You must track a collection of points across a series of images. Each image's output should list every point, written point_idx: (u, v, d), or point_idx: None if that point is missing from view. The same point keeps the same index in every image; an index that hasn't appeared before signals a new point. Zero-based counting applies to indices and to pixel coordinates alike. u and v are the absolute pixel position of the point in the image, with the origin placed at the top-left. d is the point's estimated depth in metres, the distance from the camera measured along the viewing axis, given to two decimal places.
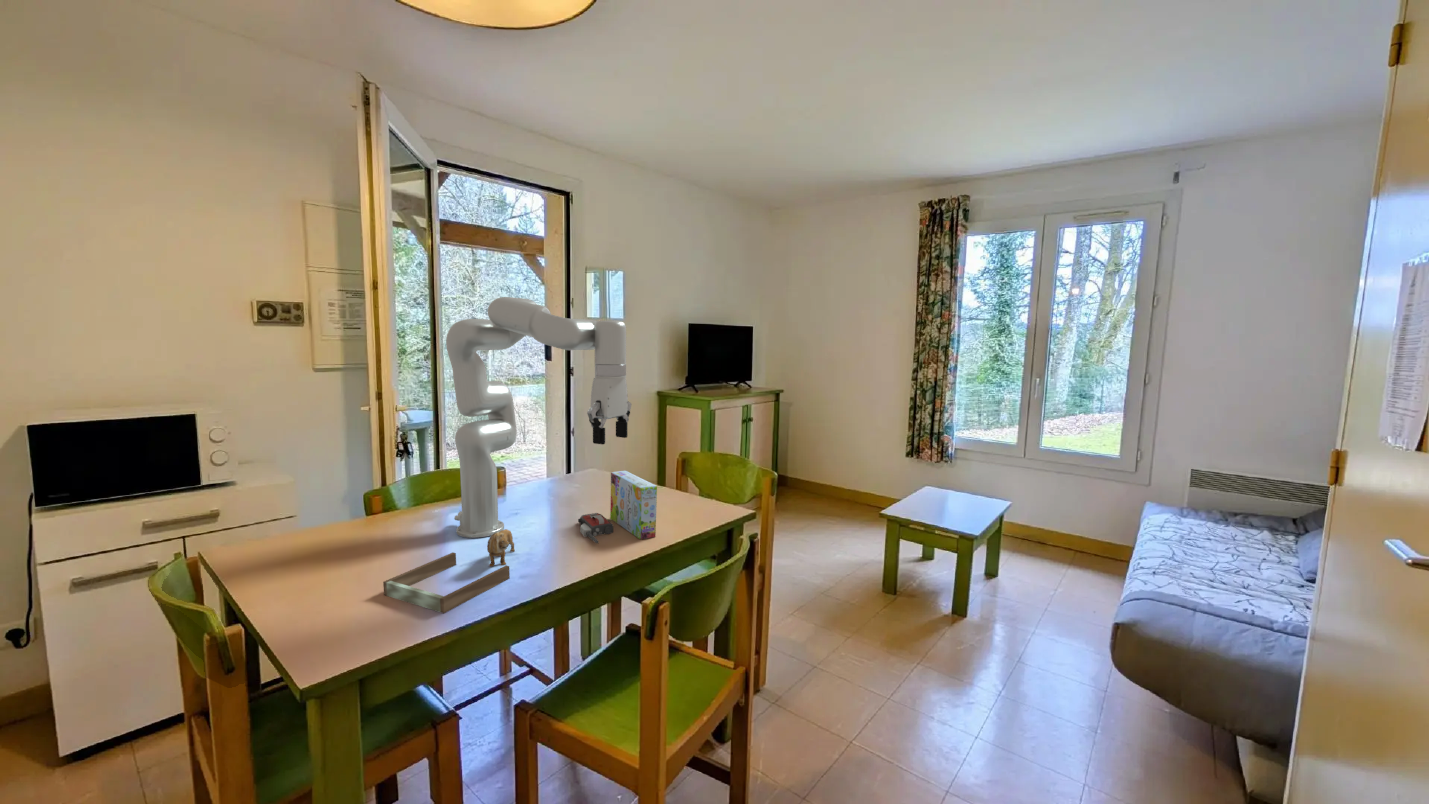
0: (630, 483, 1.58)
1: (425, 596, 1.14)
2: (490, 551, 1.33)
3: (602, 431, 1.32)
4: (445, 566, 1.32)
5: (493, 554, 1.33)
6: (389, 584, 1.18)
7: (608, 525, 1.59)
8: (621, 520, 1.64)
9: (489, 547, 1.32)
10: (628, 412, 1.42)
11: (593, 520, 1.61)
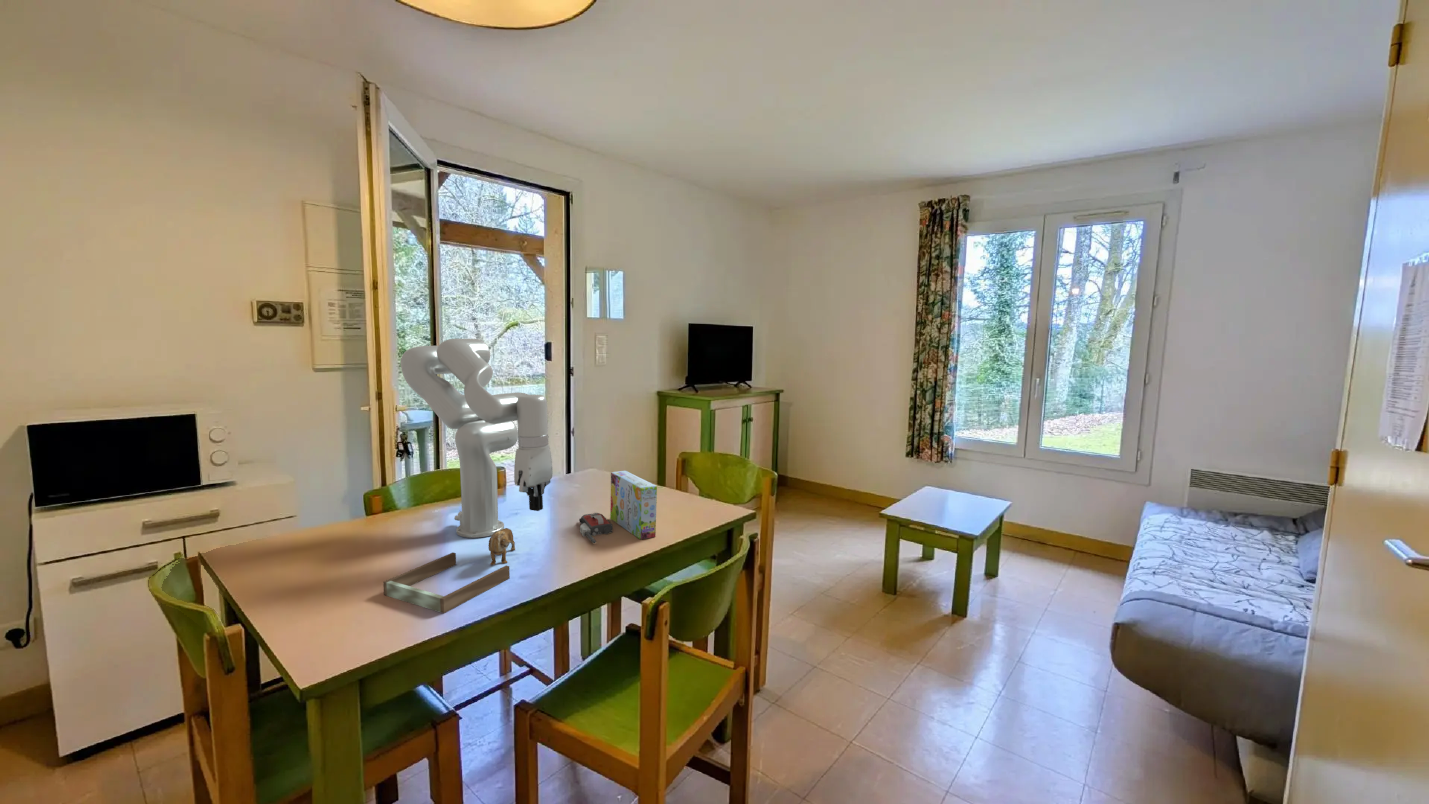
0: (630, 483, 1.58)
1: (425, 596, 1.14)
2: (491, 549, 1.34)
3: (537, 499, 1.46)
4: (445, 566, 1.32)
5: (494, 552, 1.34)
6: (389, 584, 1.18)
7: (607, 525, 1.59)
8: (621, 520, 1.64)
9: (490, 546, 1.33)
10: None
11: (593, 520, 1.61)
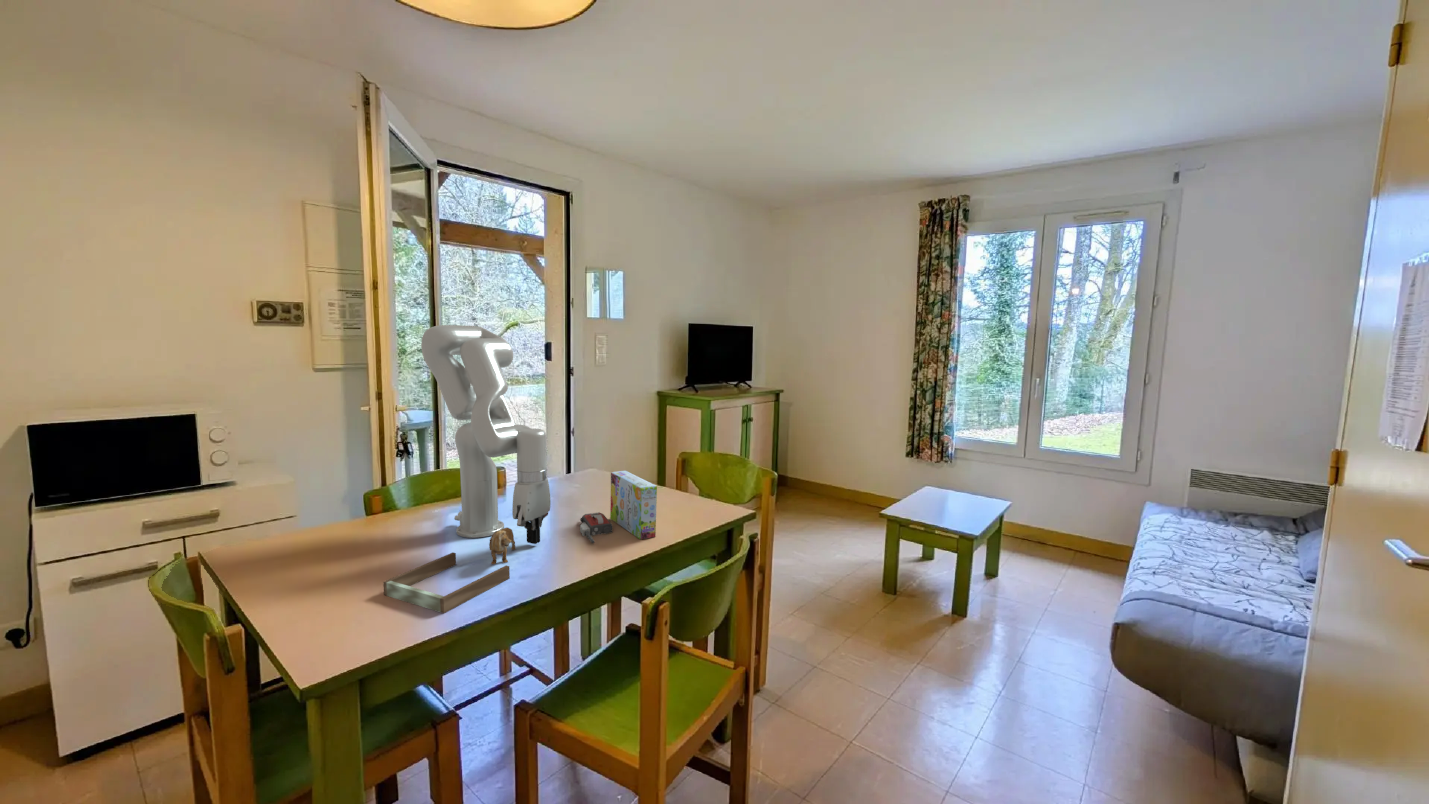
0: (630, 483, 1.58)
1: (425, 596, 1.14)
2: (492, 549, 1.34)
3: (534, 532, 1.47)
4: (445, 566, 1.32)
5: (495, 552, 1.34)
6: (389, 584, 1.18)
7: (607, 525, 1.59)
8: (621, 520, 1.64)
9: (491, 545, 1.34)
10: None
11: (594, 520, 1.62)
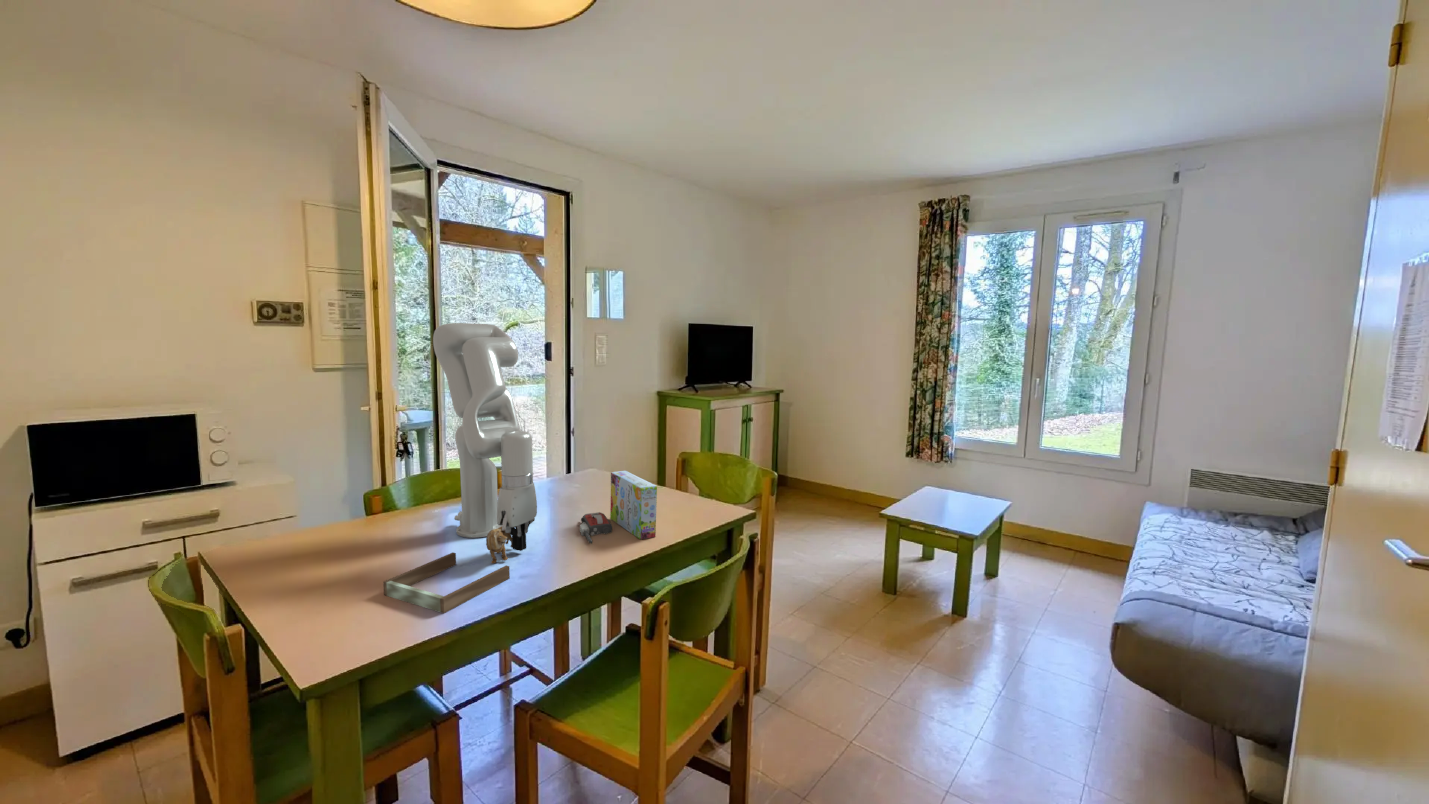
0: (630, 483, 1.58)
1: (425, 596, 1.14)
2: (490, 548, 1.34)
3: (520, 539, 1.42)
4: (445, 566, 1.32)
5: (493, 551, 1.35)
6: (389, 584, 1.18)
7: (606, 525, 1.59)
8: (621, 520, 1.64)
9: (488, 544, 1.34)
10: (527, 523, 1.45)
11: (593, 520, 1.62)
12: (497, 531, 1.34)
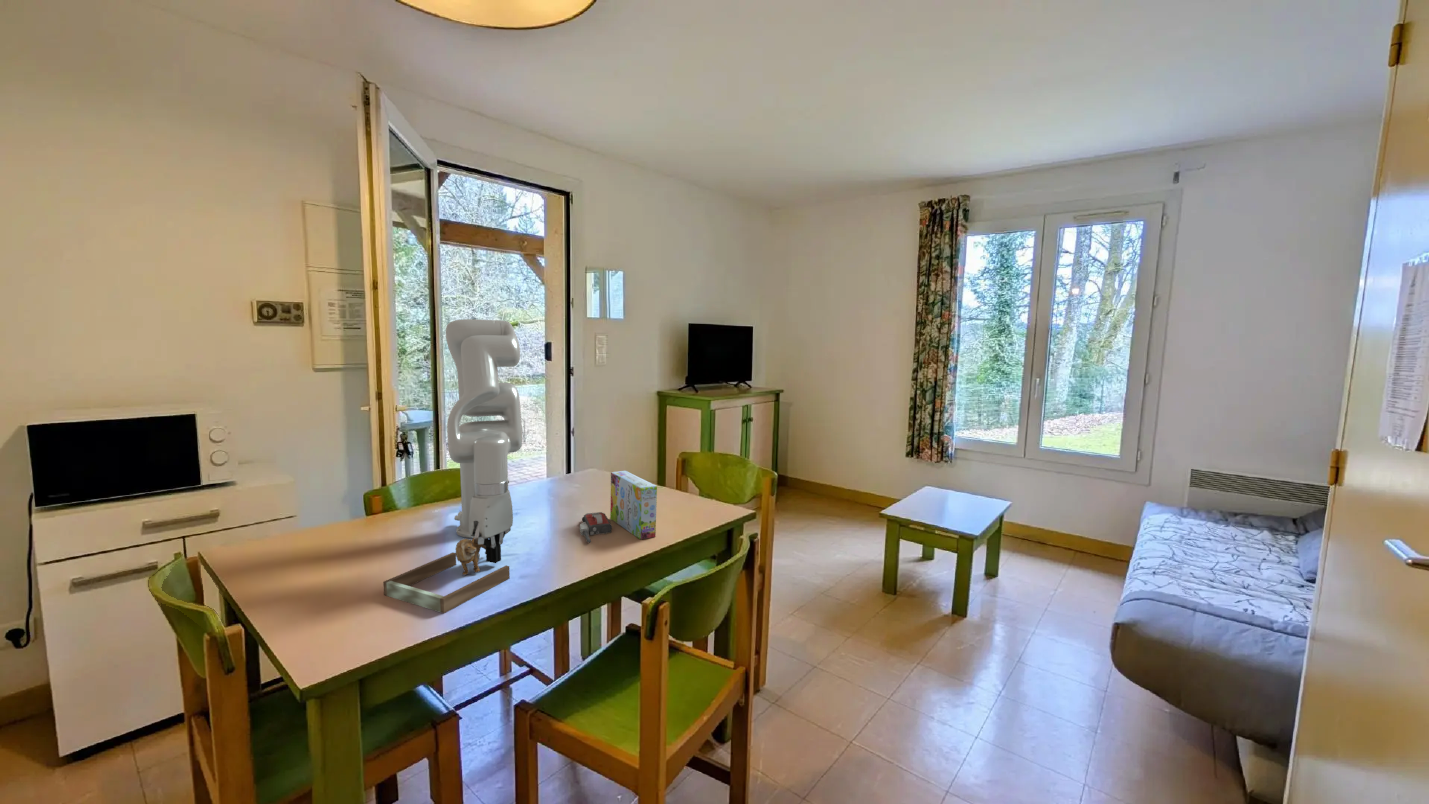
0: (630, 483, 1.58)
1: (425, 596, 1.14)
2: (458, 559, 1.27)
3: (494, 550, 1.34)
4: (445, 566, 1.32)
5: (462, 562, 1.28)
6: (389, 584, 1.18)
7: (606, 525, 1.59)
8: (621, 520, 1.64)
9: (456, 555, 1.27)
10: None
11: (593, 519, 1.62)
12: (465, 541, 1.27)
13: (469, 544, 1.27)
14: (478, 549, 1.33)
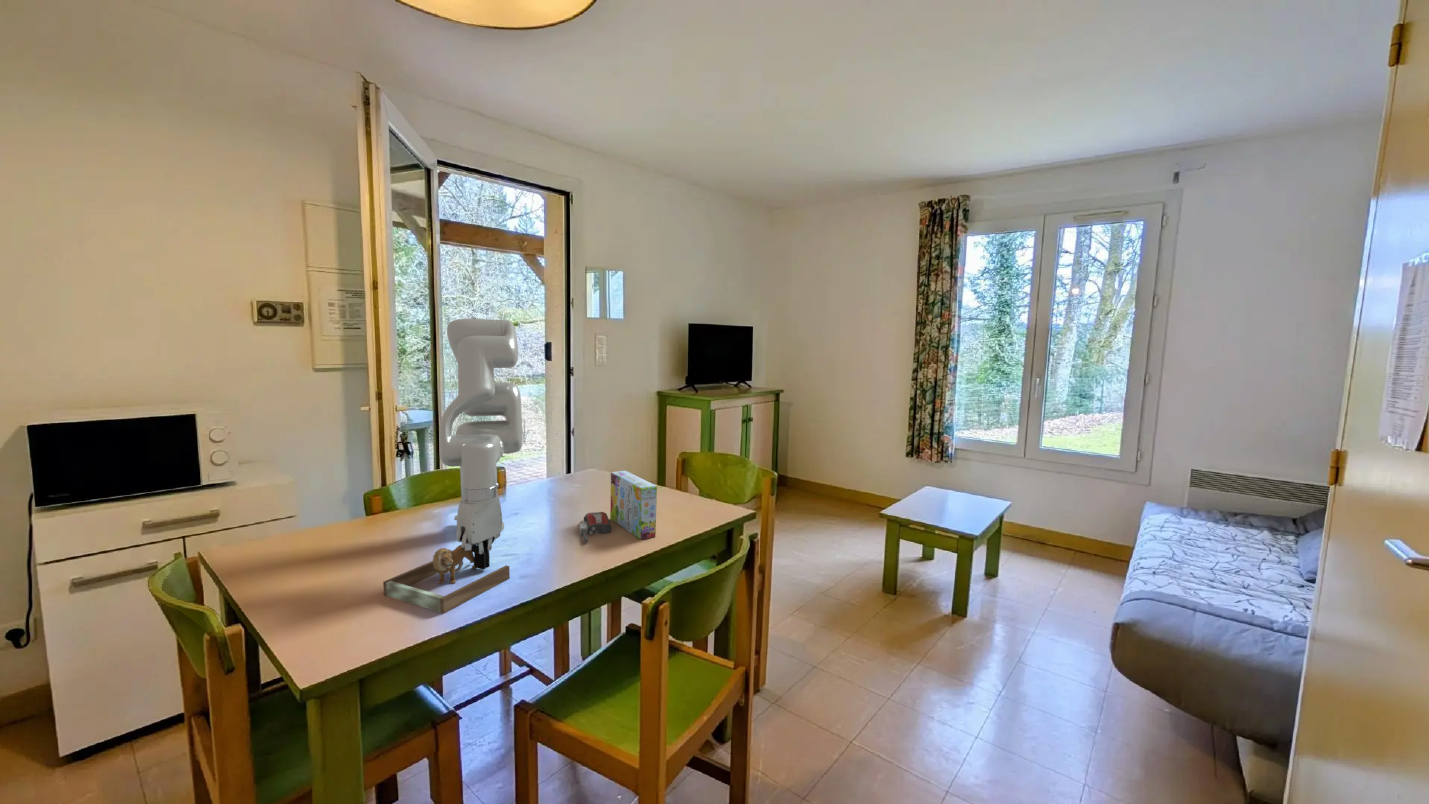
0: (630, 483, 1.58)
1: (425, 596, 1.14)
2: (435, 568, 1.23)
3: (482, 556, 1.31)
4: None
5: (438, 571, 1.23)
6: (389, 584, 1.18)
7: (605, 525, 1.59)
8: (621, 520, 1.64)
9: (433, 563, 1.22)
10: (492, 539, 1.34)
11: (594, 519, 1.62)
12: (444, 552, 1.22)
13: (447, 555, 1.22)
14: (459, 559, 1.28)
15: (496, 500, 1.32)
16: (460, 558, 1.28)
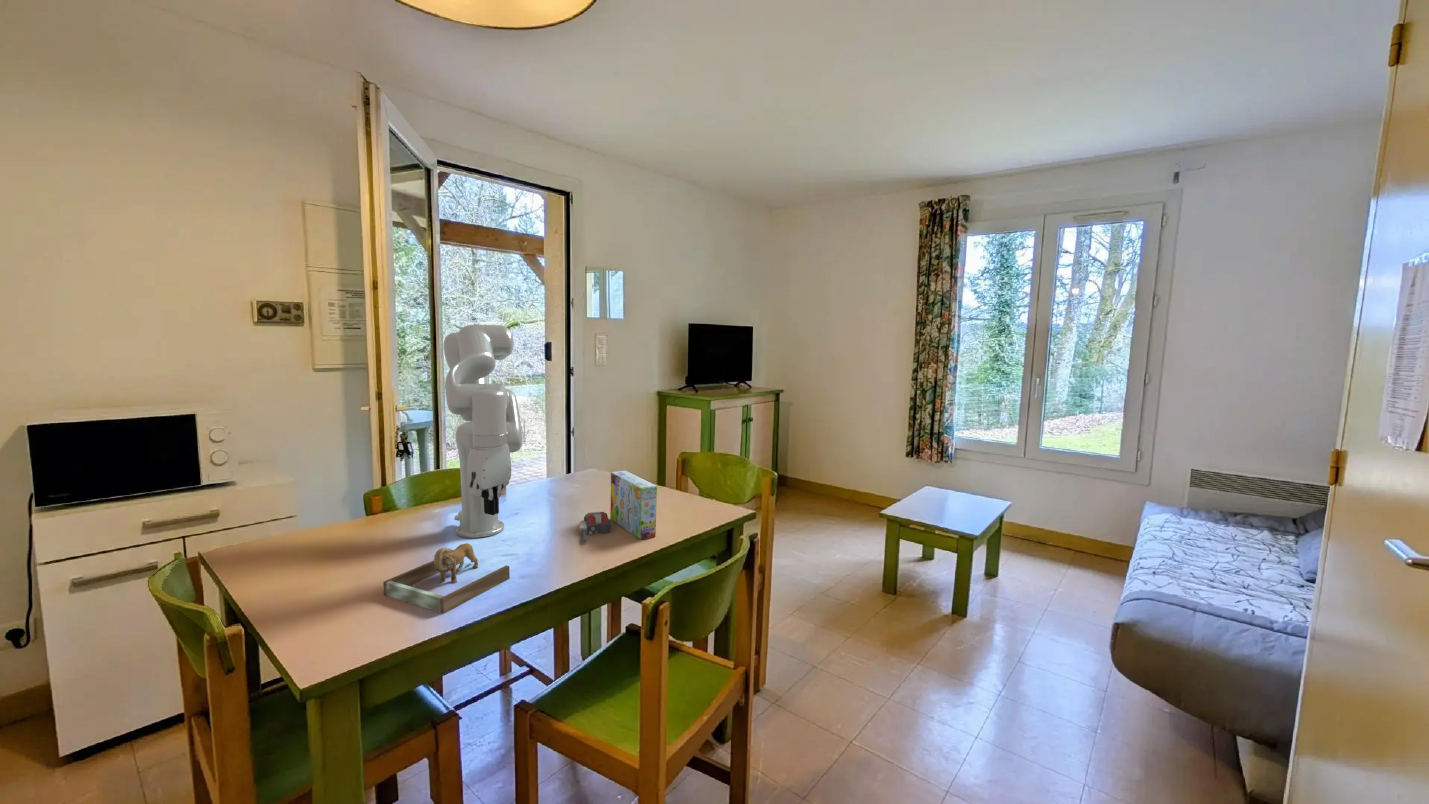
0: (630, 483, 1.58)
1: (425, 596, 1.14)
2: (436, 567, 1.23)
3: (492, 502, 1.33)
4: None
5: (439, 570, 1.24)
6: (389, 584, 1.18)
7: (604, 525, 1.59)
8: (621, 520, 1.64)
9: (434, 563, 1.23)
10: None
11: (593, 519, 1.62)
12: (445, 551, 1.22)
13: (448, 554, 1.23)
14: (460, 559, 1.28)
15: (506, 448, 1.34)
16: (461, 557, 1.29)
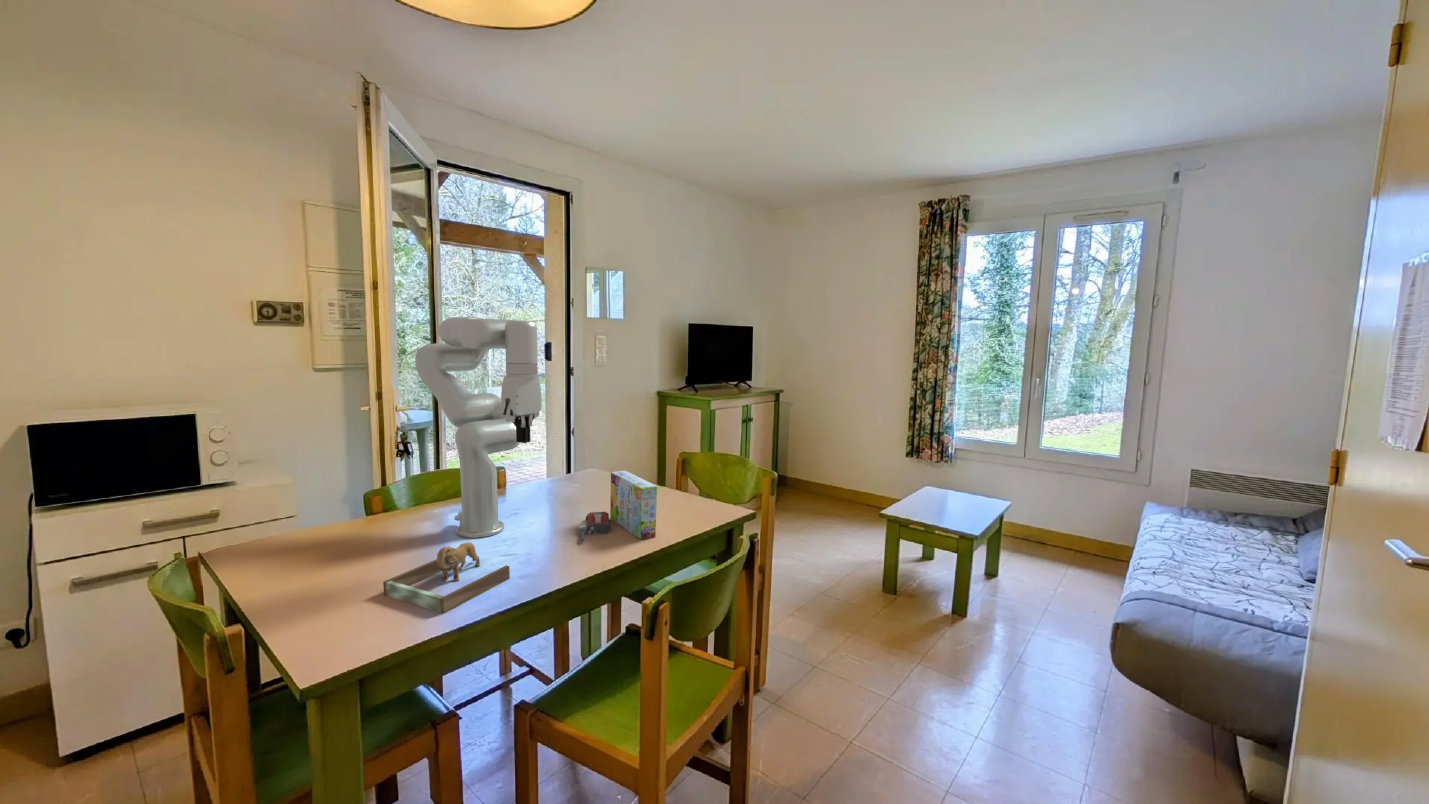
0: (630, 483, 1.58)
1: (425, 596, 1.14)
2: (438, 566, 1.24)
3: (524, 430, 1.39)
4: None
5: (442, 569, 1.24)
6: (389, 584, 1.18)
7: (604, 525, 1.59)
8: (621, 520, 1.64)
9: (437, 561, 1.24)
10: None
11: (594, 519, 1.63)
12: (448, 550, 1.23)
13: (451, 553, 1.23)
14: (462, 557, 1.29)
15: (536, 378, 1.41)
16: (463, 556, 1.29)
